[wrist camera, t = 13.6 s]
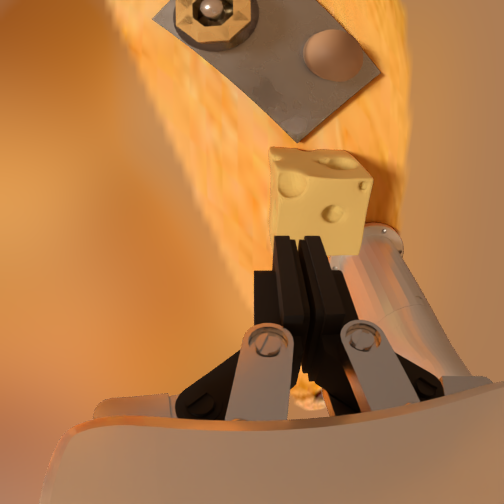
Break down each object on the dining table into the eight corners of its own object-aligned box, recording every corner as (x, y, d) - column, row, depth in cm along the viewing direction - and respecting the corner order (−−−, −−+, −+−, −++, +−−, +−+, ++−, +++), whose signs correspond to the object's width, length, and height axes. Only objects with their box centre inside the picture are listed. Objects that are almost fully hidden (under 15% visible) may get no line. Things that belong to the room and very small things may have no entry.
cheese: (267, 145, 36) (274, 174, 28) (351, 147, 36) (381, 177, 28) (266, 218, 42) (272, 263, 34) (341, 217, 42) (363, 260, 34)
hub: (274, 16, 26) (282, 5, 20) (218, 66, 30) (212, 68, 24) (217, -29, 22) (210, -48, 16) (162, 23, 26) (143, 15, 20)
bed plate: (377, 71, 30) (380, 72, 29) (295, 140, 35) (297, 143, 34) (240, -56, 20) (240, -60, 19) (154, 20, 26) (152, 19, 25)
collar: (249, -15, 22) (250, -23, 19) (250, 41, 26) (250, 39, 23) (182, -11, 22) (175, -18, 19) (183, 45, 26) (176, 44, 23)
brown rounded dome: (360, 59, 29) (373, 60, 26) (325, 88, 31) (335, 92, 28) (327, 23, 26) (337, 19, 23) (290, 52, 29) (296, 51, 25)
